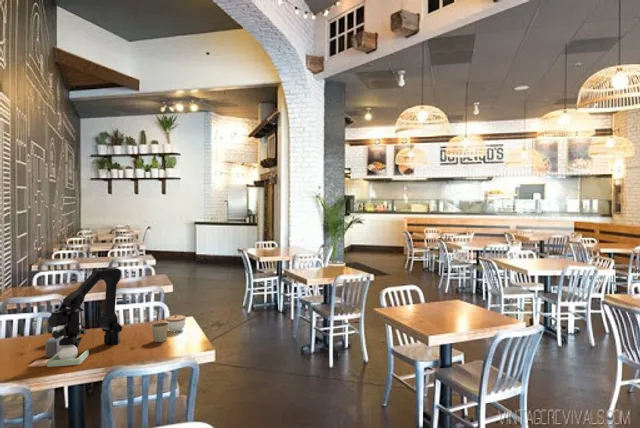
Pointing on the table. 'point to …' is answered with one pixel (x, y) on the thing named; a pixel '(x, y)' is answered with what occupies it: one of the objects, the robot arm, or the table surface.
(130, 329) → the table surface
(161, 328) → the flower pot
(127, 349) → the table surface
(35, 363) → the terracotta mat
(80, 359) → the frame
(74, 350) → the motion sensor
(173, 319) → the lidded jar
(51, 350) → the grey block
